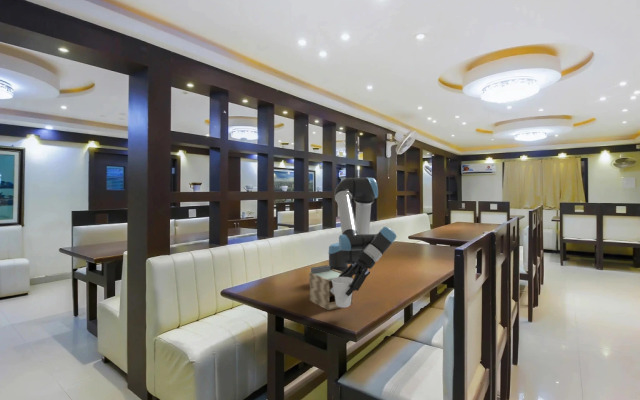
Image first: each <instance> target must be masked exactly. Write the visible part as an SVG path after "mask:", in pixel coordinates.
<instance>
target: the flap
mask: <svg viewBox="0 0 640 400" xmlns="http://www.w3.org/2000/svg"><path fill="white" fill-rule="evenodd" d="M310 273H313V274H315V275H318V276H320V277H323V278H325V279H328V280H329V281H331V280H332V279H333V278H336V277H339V275H340V274H341V273H338V272H335V271H332V270H330V266H329V264H326V265H320V266H313V267H310V272H308V275H309V276H310Z"/></svg>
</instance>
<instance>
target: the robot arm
mask: <svg viewBox="0 0 640 400" xmlns="http://www.w3.org/2000/svg"><path fill="white" fill-rule="evenodd" d="M333 193H334V195H333V196H334V201H335V202H336V203H337V204H336V205H337V209H338V216H339V222H340V229H341V234H340V235H339V237H338V242H335V243H331V244H330V245H329V246H328V252H327V253H328V266H330V270H332V269H335V270H338V271H341V272H342V273H341V274H340V275H339V277H349V278H350V277H352V278H353V281H352V283H351V285H349V286H348V287H347V289H346V290H345V291H344V292H343V293H342V295H341V296H340V297H339V298H338V299H340V300H341V301H342V302H343V303H344V302H345V300H346V299H347V298H348V297H349V296H350V294H351V293H352V294H353V292H354V291H356V292H357V291H359V290H360V288H361V287H362V285H363V283H364V282H365V280H366V279H367V277H368V275H370V274H371V271H370V269H372V268H374V266H375V265H376V262H378V261H379V260H380V259H381V257H382V256H383V255H384V254H385V252H386V251H387V250H388V249H389V248H390V247H391V246H392V244H393V243H394V242H395V240H396V239H397V234H396V233H395V231H393V230H392V229H391V228H390V227H387V226H383V227H382V228H381V229H380V230H379V232H378V233H370V227H371V226H370V224H371V212H372V211H371V210H372V204H373V203H374V202H375V199H377V198H378V197H379V188H378V183H377V180H376V179H375V178H374V177H346V178H343V180H341V181H340V182H338V184H337V186H336V187H335V190H334V192H333ZM352 199H353V201H354V203H355V204H356V205H355V206H356V207H355V213H354V208H353V203H352ZM353 276H354V277H353ZM330 291H331V292H332V293H333V294H334V289H333V288H332V289H331V290H330Z"/></svg>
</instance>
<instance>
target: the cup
mask: <svg viewBox="0 0 640 400" xmlns="http://www.w3.org/2000/svg"><path fill="white" fill-rule="evenodd" d="M353 279H354V277H352V278H349V277H336V278H333V279H332V284H333V289H334V295H335V297H334V301H336V305H337V306H338V307H339V308H343V309H344V308H348V307H350V306H351V304H350V303H351V297H353V292H352V293H351V294H350V296H349V297H348V298H347V299H346V300H345V302H344V303H343V302H342V301H341V300H340V299H338V298H339V297H340V296H341V295H342V293H343V292H344V291H345V290H346V289H347V287H348V286H349V285H351V283H352V281H353Z"/></svg>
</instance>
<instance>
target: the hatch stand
mask: <svg viewBox="0 0 640 400" xmlns="http://www.w3.org/2000/svg"><path fill="white" fill-rule="evenodd" d="M332 271H335V272H338V273H342V272H341V271H338V270H335V269H332ZM309 273H310V275H309V302H311V303H314V304H316V305H317V306H319V307H321V308H324V309H325V310H327V311H331V310H335V309H339V308H340V307H338V306H337V305H336V301H335V300H334V301H330V297H334V298H335V295H334V294H333V293H332V292H331V291H330V290H331V289H332V288H333V284H332V280H331V281H329V280H328V279H325V278H323V277H320V276H318V275H315V274H313V273H311V272H309ZM350 278H353V276H352V277H350ZM353 299H354V298H353V296H352V297H351V303H350V305H353V303H354V302H353Z"/></svg>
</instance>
